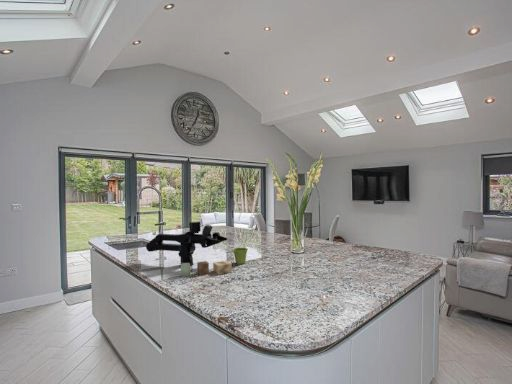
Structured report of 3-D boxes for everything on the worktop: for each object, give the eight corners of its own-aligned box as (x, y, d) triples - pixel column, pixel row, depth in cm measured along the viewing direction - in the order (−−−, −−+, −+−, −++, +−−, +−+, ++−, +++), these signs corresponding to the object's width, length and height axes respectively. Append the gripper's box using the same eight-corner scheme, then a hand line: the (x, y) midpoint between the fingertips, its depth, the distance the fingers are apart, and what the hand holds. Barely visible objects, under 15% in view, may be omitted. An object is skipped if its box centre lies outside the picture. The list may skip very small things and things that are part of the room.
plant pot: (246, 265, 179) (245, 251, 179) (231, 264, 181) (230, 250, 181) (249, 261, 188) (249, 247, 188) (235, 260, 190) (235, 247, 190)
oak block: (218, 274, 161) (217, 265, 161) (213, 271, 168) (213, 262, 168) (231, 272, 165) (231, 263, 165) (226, 269, 172) (226, 260, 172)
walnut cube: (200, 275, 160) (199, 264, 160) (197, 272, 165) (197, 262, 165) (208, 273, 163) (208, 263, 162) (206, 271, 167) (206, 261, 167)
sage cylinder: (179, 275, 160) (178, 264, 160) (184, 273, 165) (183, 262, 165) (187, 276, 158) (186, 265, 158) (192, 273, 163) (191, 263, 163)
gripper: (191, 227, 168) (216, 228, 163) (207, 223, 186) (230, 224, 181) (192, 247, 169) (216, 248, 164) (207, 241, 186) (230, 242, 181)
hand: (223, 240), depth 172 cm, fingers open, 9 cm apart
